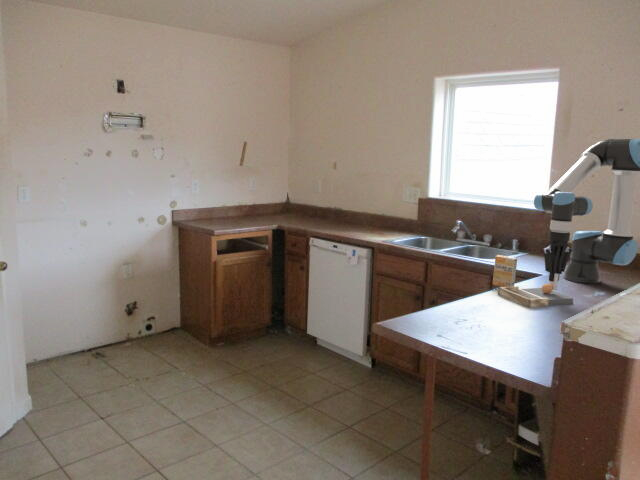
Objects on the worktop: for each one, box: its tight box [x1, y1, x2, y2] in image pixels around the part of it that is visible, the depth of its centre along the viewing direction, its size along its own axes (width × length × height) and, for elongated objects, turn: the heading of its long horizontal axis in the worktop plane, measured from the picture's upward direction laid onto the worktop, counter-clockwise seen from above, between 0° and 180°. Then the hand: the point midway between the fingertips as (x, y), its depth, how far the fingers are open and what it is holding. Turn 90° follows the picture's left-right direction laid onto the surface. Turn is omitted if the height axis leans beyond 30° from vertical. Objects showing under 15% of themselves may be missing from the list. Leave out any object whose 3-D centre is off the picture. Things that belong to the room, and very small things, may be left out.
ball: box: [541, 283, 553, 294], centre depth 211 cm, size 4×4×4 cm
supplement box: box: [492, 254, 518, 287], centre depth 227 cm, size 8×5×13 cm, turn 52°
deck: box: [518, 287, 574, 306], centre depth 211 cm, size 13×16×2 cm
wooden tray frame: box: [497, 285, 549, 308], centre depth 208 cm, size 9×18×3 cm, turn 19°
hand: (552, 289), depth 212 cm, fingers closed
